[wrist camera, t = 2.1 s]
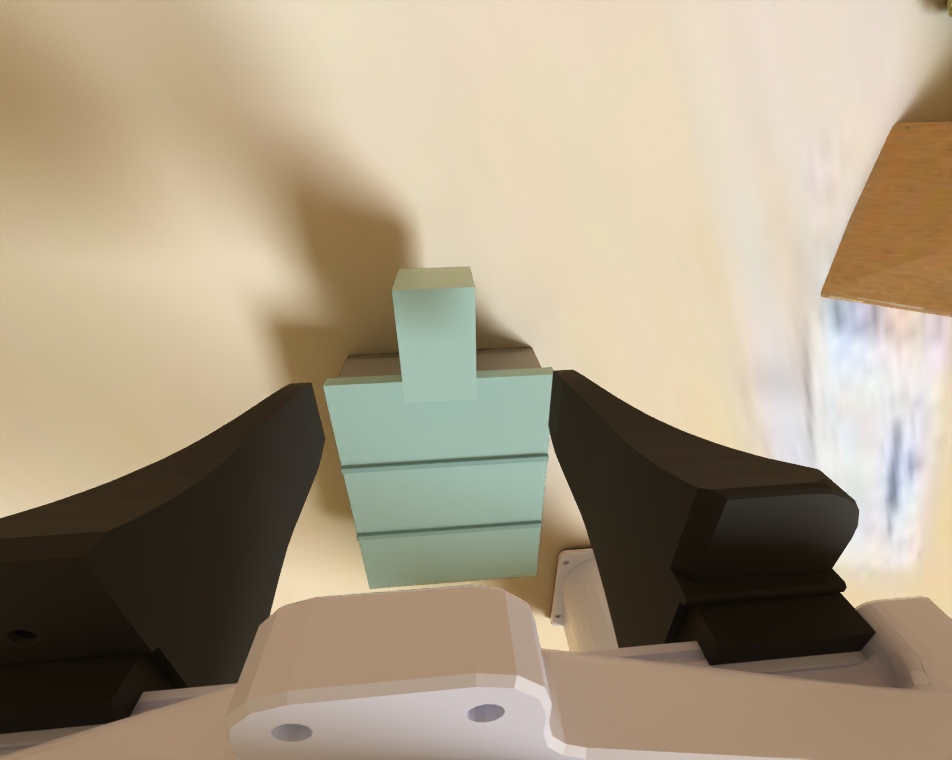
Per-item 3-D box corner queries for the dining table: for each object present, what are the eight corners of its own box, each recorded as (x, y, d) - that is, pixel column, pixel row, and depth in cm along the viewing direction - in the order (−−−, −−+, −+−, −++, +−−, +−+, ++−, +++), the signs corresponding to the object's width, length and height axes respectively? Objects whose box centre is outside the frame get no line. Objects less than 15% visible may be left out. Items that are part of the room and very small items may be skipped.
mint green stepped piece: (532, 559, 27) (542, 602, 25) (372, 571, 27) (365, 617, 24) (557, 263, 18) (577, 283, 15) (306, 272, 17) (282, 294, 14)
